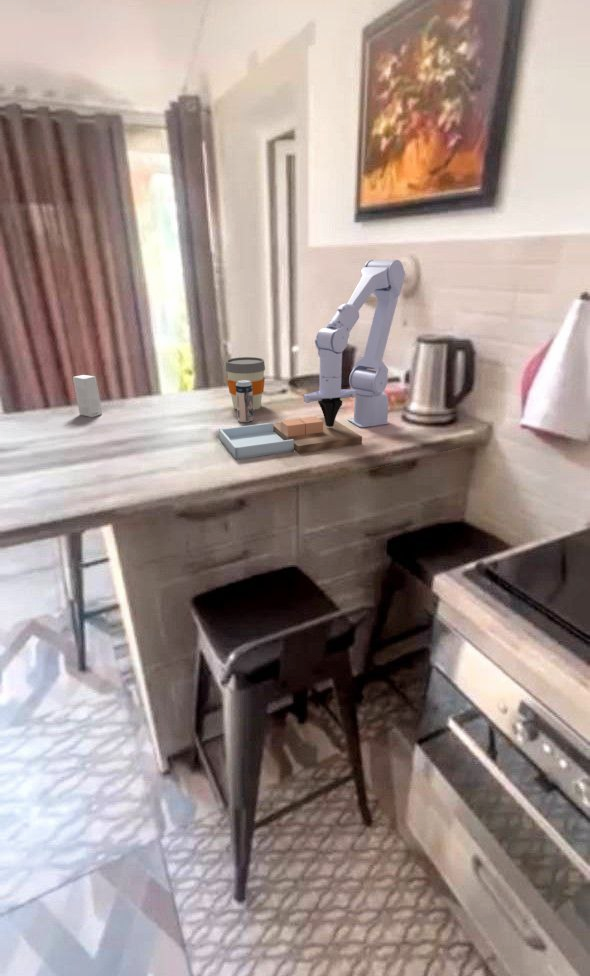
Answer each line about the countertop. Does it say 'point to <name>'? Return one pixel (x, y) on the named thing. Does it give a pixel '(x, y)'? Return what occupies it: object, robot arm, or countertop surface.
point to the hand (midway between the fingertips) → (329, 425)
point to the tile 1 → (293, 427)
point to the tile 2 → (312, 425)
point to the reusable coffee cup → (246, 377)
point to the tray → (254, 441)
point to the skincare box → (87, 395)
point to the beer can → (244, 400)
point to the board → (322, 438)
